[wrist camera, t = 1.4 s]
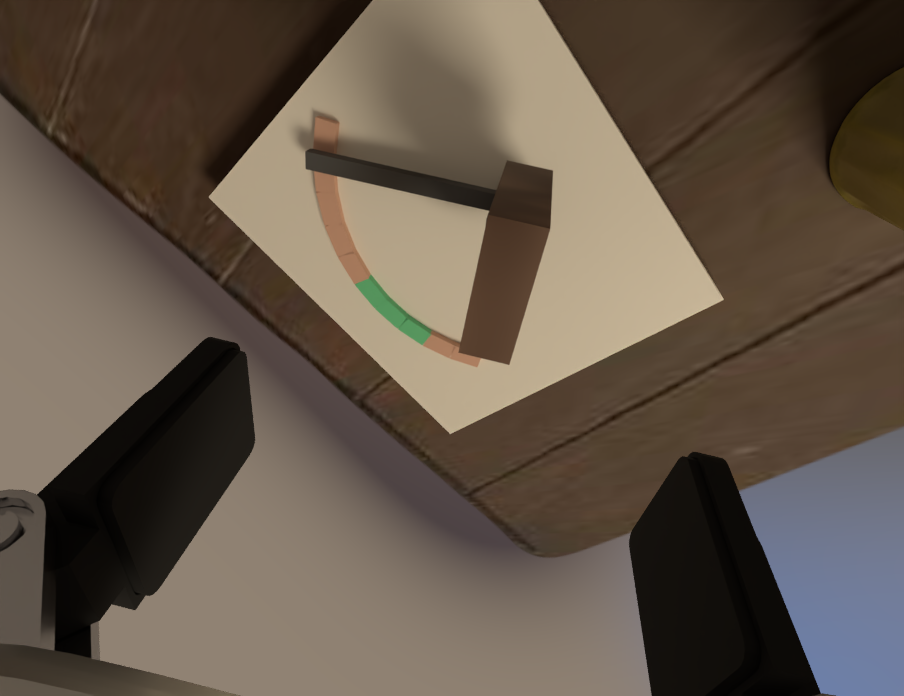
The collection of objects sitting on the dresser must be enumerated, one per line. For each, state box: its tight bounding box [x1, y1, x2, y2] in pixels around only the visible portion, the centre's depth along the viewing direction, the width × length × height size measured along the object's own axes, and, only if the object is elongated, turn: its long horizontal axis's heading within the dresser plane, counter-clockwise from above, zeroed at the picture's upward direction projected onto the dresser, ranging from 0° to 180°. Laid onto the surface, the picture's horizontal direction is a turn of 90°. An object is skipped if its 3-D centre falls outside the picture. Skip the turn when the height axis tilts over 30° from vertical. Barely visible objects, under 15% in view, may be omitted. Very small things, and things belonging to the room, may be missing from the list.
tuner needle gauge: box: [305, 148, 553, 365], centre depth 19 cm, size 11×5×9 cm, turn 80°
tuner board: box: [209, 0, 724, 434], centre depth 25 cm, size 18×20×2 cm
